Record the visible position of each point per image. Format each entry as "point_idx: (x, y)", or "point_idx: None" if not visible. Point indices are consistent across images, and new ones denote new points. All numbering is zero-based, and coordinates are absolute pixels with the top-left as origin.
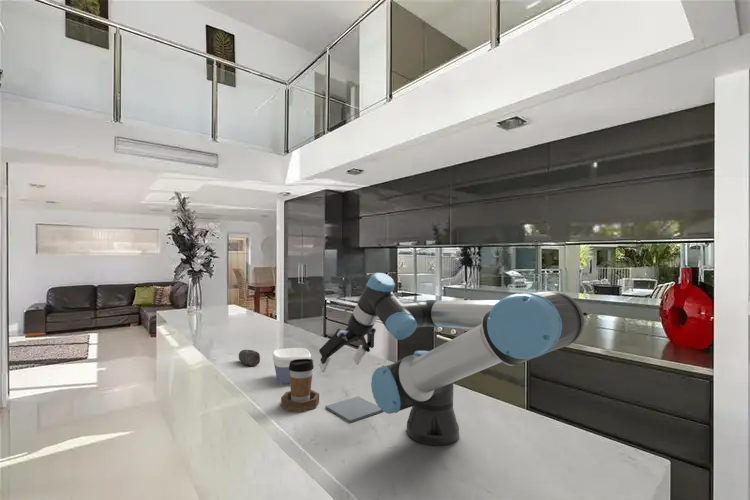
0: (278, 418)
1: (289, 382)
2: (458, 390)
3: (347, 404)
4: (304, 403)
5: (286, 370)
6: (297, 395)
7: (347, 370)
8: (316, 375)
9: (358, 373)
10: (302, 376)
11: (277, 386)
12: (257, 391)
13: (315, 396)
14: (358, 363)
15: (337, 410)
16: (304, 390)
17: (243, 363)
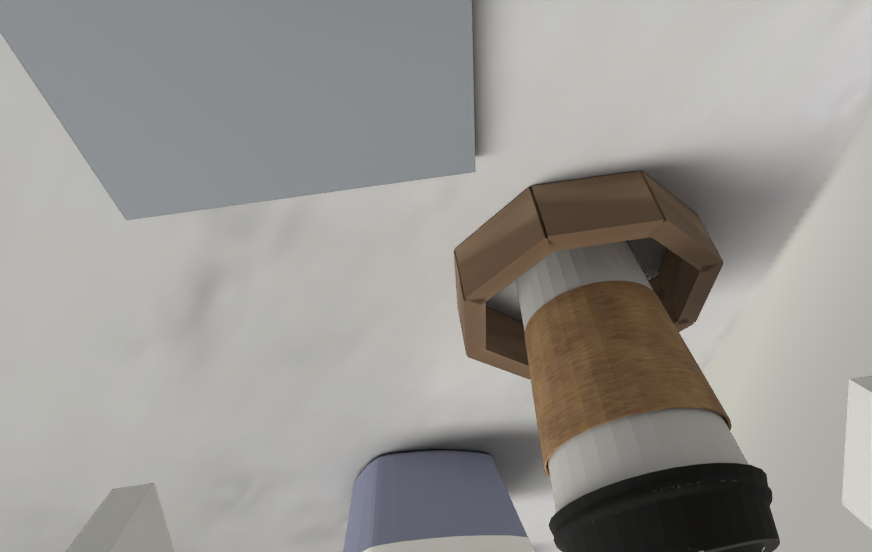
0: (818, 152)
1: (458, 454)
2: None
3: (290, 121)
4: (647, 215)
5: (490, 517)
6: (655, 298)
7: (88, 505)
8: (286, 486)
9: (21, 478)
10: (695, 423)
11: (521, 438)
12: None
13: (516, 273)
14: (109, 506)
15: (440, 49)
16: (629, 318)
17: None
